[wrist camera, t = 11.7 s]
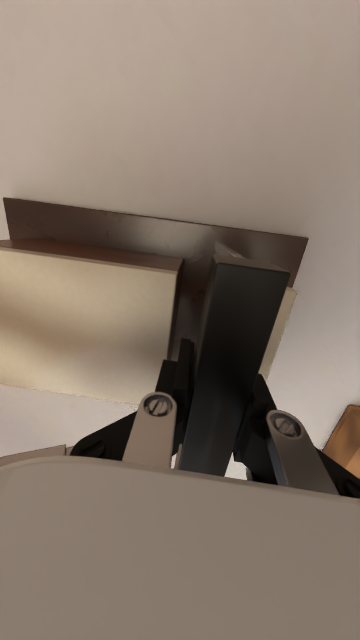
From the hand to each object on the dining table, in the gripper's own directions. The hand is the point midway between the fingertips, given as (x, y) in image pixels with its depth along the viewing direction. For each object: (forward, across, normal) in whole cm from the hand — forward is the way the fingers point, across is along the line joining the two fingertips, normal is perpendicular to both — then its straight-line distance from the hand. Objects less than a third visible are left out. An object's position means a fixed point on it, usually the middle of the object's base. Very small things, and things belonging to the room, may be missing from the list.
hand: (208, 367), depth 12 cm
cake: (+8, +6, 0) cm, 10 cm away
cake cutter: (+7, 0, 0) cm, 7 cm away
